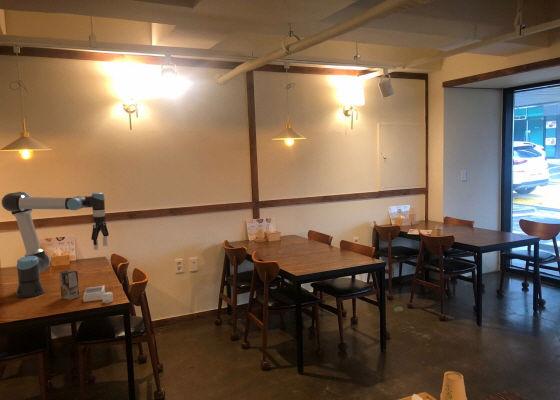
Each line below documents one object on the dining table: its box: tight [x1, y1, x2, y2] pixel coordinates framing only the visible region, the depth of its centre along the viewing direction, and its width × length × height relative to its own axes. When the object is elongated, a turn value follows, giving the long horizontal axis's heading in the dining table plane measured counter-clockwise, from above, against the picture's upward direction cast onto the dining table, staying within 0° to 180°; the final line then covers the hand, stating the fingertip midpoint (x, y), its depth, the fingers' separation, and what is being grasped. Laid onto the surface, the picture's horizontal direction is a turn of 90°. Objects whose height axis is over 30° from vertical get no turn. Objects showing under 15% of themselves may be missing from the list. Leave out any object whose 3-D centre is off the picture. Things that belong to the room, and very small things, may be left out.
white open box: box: [82, 284, 106, 303], centre depth 260 cm, size 11×14×5 cm
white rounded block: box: [101, 291, 114, 304], centre depth 251 cm, size 6×6×5 cm
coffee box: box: [58, 269, 80, 301], centre depth 261 cm, size 9×6×16 cm
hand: (100, 247), depth 288 cm, fingers open, 13 cm apart
